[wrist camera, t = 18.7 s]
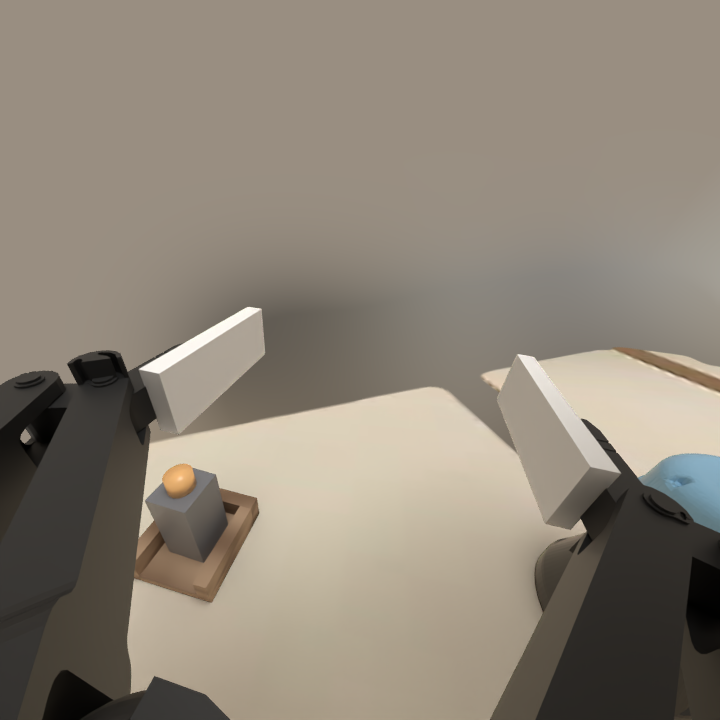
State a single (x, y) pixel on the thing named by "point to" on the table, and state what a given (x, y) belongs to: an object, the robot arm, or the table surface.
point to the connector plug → (188, 511)
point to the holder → (191, 574)
